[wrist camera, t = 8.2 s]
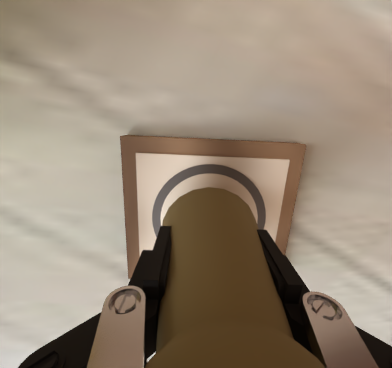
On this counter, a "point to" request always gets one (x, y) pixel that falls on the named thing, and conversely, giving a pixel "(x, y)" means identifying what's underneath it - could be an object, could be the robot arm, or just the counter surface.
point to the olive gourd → (221, 291)
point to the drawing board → (206, 182)
